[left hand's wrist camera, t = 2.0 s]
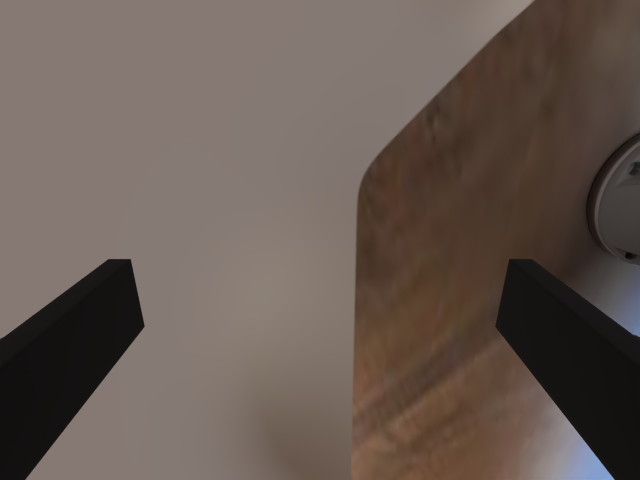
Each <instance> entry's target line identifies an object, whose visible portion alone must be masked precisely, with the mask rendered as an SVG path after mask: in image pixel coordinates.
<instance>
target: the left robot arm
mask: <svg viewBox="0 0 640 480" xmlns="http://www.w3.org/2000/svg"><path fill="white" fill-rule="evenodd" d="M587 220H588V226H589V229H590V232H591V234H592V236H593V238H594V239H595V241H596V242H597V243H598V244H599V245H600V246H601V247H602V248H603V249H604V250H606V251H607V252H609V253H610V254H612V255H614V256H616V257H618V258H620V259H622V260H624V261H626V262H629V263H632V264H636V265H640V134H639V135H637V136H635V137H634V138H632V139H631V140H629V141H628V142H627V143H626V144H624V145H623V146H622V147H621V148H620V149H619V150H617V151H616V152H615V153H614V154H613V156H612V157H611V158H610V159H609V160H608V161H607V163H606V164H605V165H604V166H603V168H602V169H601V171H600V172H599V174H598V176H597V178H596V180H595V182H594V184H593V186H592V189H591V192H590V195H589V199H588V205H587ZM495 327H496V328H497V329H498V331H499V332H500V333H501V334H502V336H503V337H504V338H505V340H506V341H507V342H508V343H509V345H510V346H511V347H512V349H513V350H514V351H515V352H516V354H517V355H518V356H519V357H520V359H521V360H522V361H523V363H524V364H525V365H526V366H527V368H528V369H529V370H530V372H531V373H532V374H533V375H534V377H535V378H536V379H537V381H538V382H539V383H540V384H541V386H542V387H543V388H544V390H545V391H546V392H547V393H548V395H549V396H550V397H551V399H552V400H553V401H554V402H555V404H556V405H557V406H558V408H559V409H560V410H561V411H562V413H563V414H564V415H565V416H566V418H567V419H568V420H569V422H570V423H571V424H572V425H573V427H574V428H575V429H576V431H577V432H578V433H579V434H580V436H581V437H582V438H583V440H584V441H585V442H586V443H587V445H588V446H589V447H590V449H591V450H592V451H593V452H594V454H595V455H596V456H597V458H598V459H599V460H600V461H601V463H602V464H603V465H604V466H605V468H606V469H607V470H608V472H609V473H610V474H611V475H612V477H613V478H614V479H615V480H640V337H638V336H636V335H632V334H631V333H630V332H628V331H627V330H626V329H624V328H623V327H622V326H620V325H619V324H618V323H616V322H615V321H614V320H612V319H611V318H610V317H608V316H607V315H606V314H604V313H603V312H602V311H600V310H599V309H598V308H596V307H595V306H594V305H592V304H591V303H590V302H588V301H587V300H586V299H584V298H583V297H581V296H580V295H579V294H577V293H576V292H575V291H573V290H572V289H571V288H569V287H568V286H567V285H565V284H564V283H563V282H561V281H560V280H559V279H557V278H556V277H555V276H553V275H552V274H551V273H549V272H548V271H547V270H545V269H544V268H543V267H541V266H540V265H539V264H537V263H536V262H535V261H533V260H532V259H509V263H508V268H507V273H506V278H505V283H504V287H503V292H502V297H501V302H500V307H499V311H498V316H497V321H496V326H495ZM143 328H144V321H143V317H142V311H141V307H140V302H139V297H138V292H137V287H136V283H135V278H134V273H133V268H132V263H131V259H108V260H107V261H105V262H104V263H103V264H101V265H100V266H99V267H97V268H96V269H95V270H93V271H92V272H91V273H89V274H88V275H87V276H85V277H84V278H83V279H81V280H80V281H79V282H77V283H76V284H75V285H73V286H72V287H71V288H69V289H68V290H67V291H65V292H64V293H63V294H61V295H60V296H59V297H57V298H56V299H55V300H53V301H52V302H51V303H49V304H48V305H46V306H45V307H44V308H42V309H41V310H40V311H38V312H37V313H36V314H34V315H33V316H32V317H30V318H29V319H28V320H26V321H25V322H24V323H22V324H21V325H20V326H18V327H17V328H16V329H14V330H13V331H12V332H10V333H9V334H8V335H6V336H5V337H3V338H1V339H0V480H25V479H26V478H27V477H28V475H29V474H30V473H31V472H32V470H33V469H34V468H35V466H36V465H37V464H38V463H39V461H40V460H41V459H42V458H43V456H44V455H45V454H46V452H47V451H48V450H49V449H50V447H51V446H52V445H53V443H54V442H55V441H56V440H57V438H58V437H59V436H60V434H61V433H62V432H63V431H64V429H65V428H66V427H67V425H68V424H69V423H70V422H71V420H72V419H73V418H74V416H75V415H76V414H77V413H78V411H79V410H80V409H81V407H82V406H83V405H84V404H85V402H86V401H87V400H88V399H89V397H90V396H91V395H92V393H93V392H94V391H95V390H96V388H97V387H98V386H99V384H100V383H101V382H102V381H103V379H104V378H105V377H106V375H107V374H108V373H109V372H110V370H111V369H112V368H113V366H114V365H115V364H116V363H117V361H118V360H119V359H120V357H121V356H122V355H123V354H124V352H125V351H126V350H127V348H128V347H129V346H130V345H131V343H132V342H133V341H134V339H135V338H136V337H137V336H138V334H139V333H140V332H141V331H142V329H143Z"/></svg>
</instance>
